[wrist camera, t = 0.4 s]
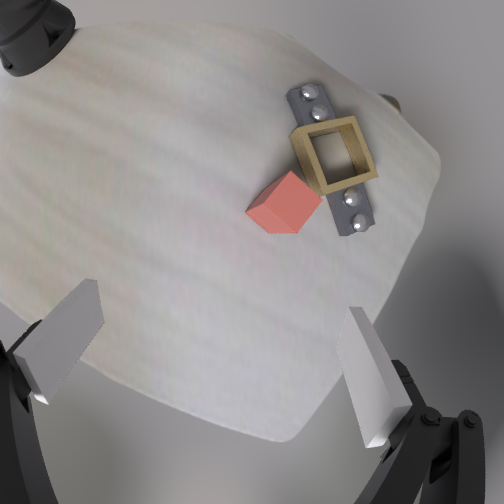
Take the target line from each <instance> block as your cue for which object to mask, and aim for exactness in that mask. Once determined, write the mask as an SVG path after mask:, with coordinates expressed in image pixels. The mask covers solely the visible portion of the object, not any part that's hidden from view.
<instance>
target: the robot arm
mask: <svg viewBox="0 0 504 504" xmlns="http://www.w3.org/2000/svg"><path fill="white" fill-rule="evenodd" d="M74 28H75V18H74V16H73V15H72V12H71V11H70V10H69V9H68V8H67V7H65V6H64V5H62V4H60V3H59V2H57V1H56V0H0V59H1V62H2V65H3V67H4V69H5V70H6V71H7V72H8V73H10V74H11V75H12V76H16V77H20V76H25V75H28V74H30V73H32V72H34V71H36V70H38V69H39V68H41V67H42V66H44V65H45V64H46V63H48V62H49V61H50V60H51V59H52V58H54V57H55V56H56V55H57V54H58V53H59V52H60V51H61V49H62V48H63V47H64V46H65V45H66V43H67V42H68V40H69V39H70V37H71V35H72V34H73V31H74ZM104 323H105V322H104V318H103V313H102V307H101V302H100V296H99V290H98V284H97V280H91V279H85V280H83V281H82V282H81V283H80V284H79V285H78V286H77V287H76V288H75V289H74V290H73V291H72V292H71V293H70V294H69V295H68V296H67V297H66V298H64V299H63V300H62V301H61V302H60V303H59V304H58V305H57V306H56V307H55V308H54V309H53V310H52V311H51V312H50V313H49V314H48V315H47V316H46V317H45V318H44V319H43V320H39V321H37V322H36V323H34V324H32V325H31V326H30V327H29V328H28V329H27V332H25V333H24V334H23V335H22V337H20V338H19V339H18V340H17V341H16V342H15V343H14V344H13V346H12V347H11V348H10V349H9V350H8V351H7V352H6V351H5V349H4V346H3V344H2V342H1V340H0V504H58V501H57V499H56V496H55V494H54V491H53V488H52V485H51V482H50V479H49V476H48V473H47V470H46V467H45V463H44V460H43V456H42V453H41V449H40V445H39V440H38V436H37V431H36V427H35V422H34V416H33V411H32V405H31V399H30V397H29V393H30V392H31V390H32V392H33V394H34V396H35V397H36V399H37V400H39V401H42V402H44V403H46V404H50V402H51V400H52V399H53V397H54V396H55V394H56V393H57V391H58V389H59V388H60V386H61V385H62V383H63V382H64V380H65V379H66V377H67V376H68V374H69V373H70V371H71V369H72V368H73V367H74V365H75V364H76V362H77V361H78V359H79V358H80V356H81V355H82V353H83V352H84V351H85V349H86V348H87V346H88V345H89V343H90V342H91V341H92V339H93V338H94V336H95V335H96V334H97V332H98V331H99V330H100V328H101V327H102V325H103V324H104ZM335 349H336V352H337V355H338V358H339V361H340V364H341V367H342V370H343V373H344V376H345V379H346V383H347V386H348V389H349V393H350V396H351V399H352V402H353V406H354V409H355V412H356V416H357V419H358V422H359V426H360V429H361V433H362V436H363V440H364V444H365V447H366V448H370V447H376V446H382V445H383V444H384V442H385V441H386V440H387V439H388V438H389V441H390V444H391V445H390V446H389V447H388V449H387V450H386V451H385V452H384V453H383V454H382V456H381V458H382V460H381V461H380V463H379V465H378V467H377V468H376V470H375V472H374V473H373V475H372V477H371V479H370V480H369V482H368V483H367V485H366V486H365V488H364V489H363V491H362V493H361V494H360V496H359V497H358V498H357V500H356V501H355V503H354V504H413V503H414V501H415V499H416V496H417V494H418V492H419V490H420V488H421V485H422V483H423V486H422V492H421V498H420V503H419V504H484V501H485V450H484V436H483V427H482V421H481V418H480V417H479V415H478V414H477V413H475V412H474V411H471V410H464V411H463V412H461V413H460V414H459V416H458V417H457V418H451V417H442V415H441V414H440V413H439V412H438V411H437V410H436V409H434V408H432V407H427V406H426V404H425V402H424V400H423V398H422V396H421V394H420V392H419V391H418V388H417V386H416V385H415V383H414V381H413V379H412V377H410V373H409V371H408V370H407V368H406V366H404V365H403V364H402V363H401V362H400V361H399V360H390V358H389V356H388V354H387V353H386V350H385V349H384V347H383V345H382V343H381V341H380V339H379V338H378V336H377V334H376V332H375V330H374V328H373V326H372V325H371V323H370V321H369V319H368V317H367V316H366V314H365V312H364V310H363V308H362V307H348V310H347V313H346V316H345V320H344V323H343V326H342V329H341V332H340V336H339V339H338V342H337V345H336V348H335Z"/></svg>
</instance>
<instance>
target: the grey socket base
mask: <svg viewBox="0 0 504 504" xmlns="http://www.w3.org/2000/svg"><path fill="white" fill-rule="evenodd" d="M286 97H287V100H288V102H289V104H290V106H291V109H292V111H293V113H294V115H295V118H296V120H297V122H298V125H299V127H298V128H296V129H295V130H294V132H293V133H292V134H291V135H290V136H289V137H290V140H291V142H292V145H293V147H294V150H295V152H296V155H297V157H298V160H299V163H300V165H301V168H302V170H303V173H304V176H305V178H306V181H307V184H308V186H309V188H310V189H311V190H313V191H314V192H315V193H316V194H317V195H318V196H319V197H320V196H323V195H326V197H327V200H328V202H329V205H330V208H331V211H332V214H333V217H334V220H335V223H336V226H337V229H338V232H339V236H348V235H351V234H353V233H355V232H364V231H366V230H367V229H368V228H369V226H372V225H374V224H375V221H374V218H373V215H372V211H371V208H370V205H369V202H368V199H367V196H366V193H365V190H364V187H363V184H362V182H364V181H367V180H370V179H373V178H377V177H378V174H377V171H376V168H375V165H374V163H373V160H372V157H371V154H370V152H369V149H368V147H367V144H366V142H365V139H364V137H363V134H362V132H361V129H360V127H359V125H358V122H357V120H356V118H355V116H349V117H344V118H339V119H337V118H336V115H335V113H334V111H333V109H332V107H331V104H330V102H329V100H328V98H327V96H326V94H325V92H324V90H323V88H322V86H321V85H316V86H315V85H313V84H311V83H307V84H304V85H303V87H302V88H297V89H292V90H290V91H289V92H288V94H287V95H286ZM338 131H341V134H342V136H343V139H344V141H345V144H346V146H347V149H348V151H349V154H350V156H351V159H352V162H353V164H354V167H355V170H356V172H357V175H358V176H355V177H352V178H349V179H345V180H342V181H339V182H336V183H333V184H330V185H327V182H326V179H325V177H324V174H323V171H322V169H321V166H320V163H319V161H318V158H317V156H316V153H315V151H314V148H313V146H312V143H311V141H310V138H313V137H317V136H321V135H325V134H329V133H333V132H338Z"/></svg>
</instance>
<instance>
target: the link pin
mask: <svg viewBox="0 0 504 504" xmlns="http://www.w3.org/2000/svg"><path fill="white" fill-rule="evenodd" d="M321 202H322V199H321V198H320V197H319V196H318V195H317V194H316V193H315V192H314V191H313V190H311V189H310V188H309V187H308V186H307V185H306V184H305V183H304V182H303V181H302V180H300V179H299V178H298V177H297V176H296V175H295V174H294V173H293V172H292V171H289V172H288V173H287V174H285V175H284V176H282V177H281V178H279V179H278V180H276V181H275V182H274V183H272V184H271V185H269V186H268V187H266V188H265V189H264V190H263V191H262V193H261V194H260V195H259V196H258V197H257V198H256V200H255V201H254V202H253V203H252V204H251V206H250V207H249V208H248V209H247V210H246V212H245V213H246V214H247V215H248V216H249V217H250V218H252V219H253V220H254V221H255V222H256V223H258V224H259V225H260V226H261V227H262V228H263V229H265V230H266V231H267V232H268V233H297V232H298V231H299V230H300V229H301V227H302V226H303V225H304V223H305V222H306V221H307V220H308V218H309V217H310V216H311V214H312V213H313V212H314V211H315V209H316V208H317V207H318V205H319V204H320V203H321Z"/></svg>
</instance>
